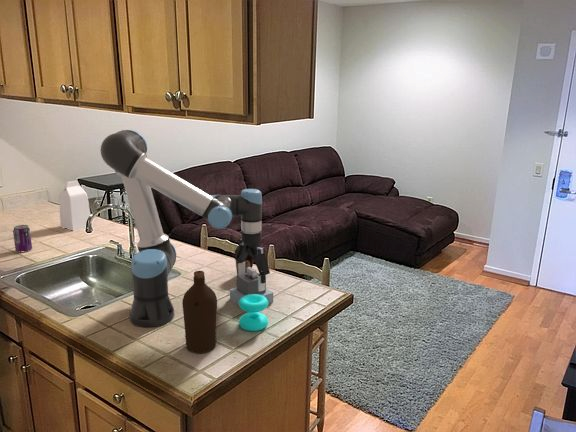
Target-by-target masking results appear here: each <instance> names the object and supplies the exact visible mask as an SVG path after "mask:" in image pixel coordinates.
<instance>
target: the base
mask: <svg viewBox="0 0 576 432" xmlns="http://www.w3.org/2000/svg"><path fill="white" fill-rule="evenodd" d="M259 295H262V296H264V297H266V298H267V300H268V305H270V304H272V303H274V292H273V291H272V290H270V289H268V288H266V292H265V293H261V294H259ZM243 296H245V295H244V294H242V293H240V292H239V291H237V287H233V288H230V289H229V300H230V301H232V302H233V303H235V304H237V305H239V300H240V299H241V298H242V297H243Z"/></svg>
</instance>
